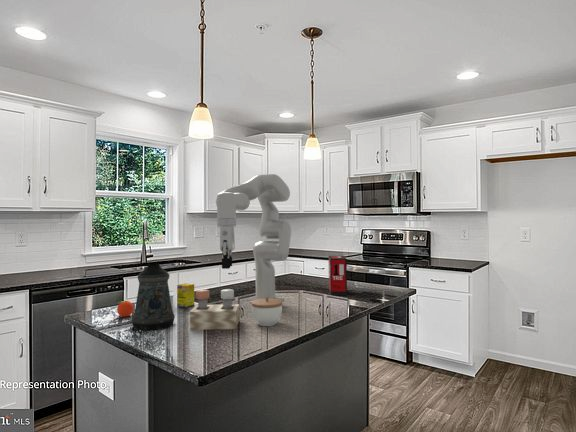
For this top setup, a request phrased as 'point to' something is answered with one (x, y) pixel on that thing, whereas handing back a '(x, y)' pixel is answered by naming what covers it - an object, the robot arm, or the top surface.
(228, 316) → the button box
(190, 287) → the supplement box
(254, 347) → the top surface
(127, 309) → the clementine
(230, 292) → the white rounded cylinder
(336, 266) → the cleaning product box
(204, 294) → the terracotta button
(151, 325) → the beer stein
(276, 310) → the lidded bowl
